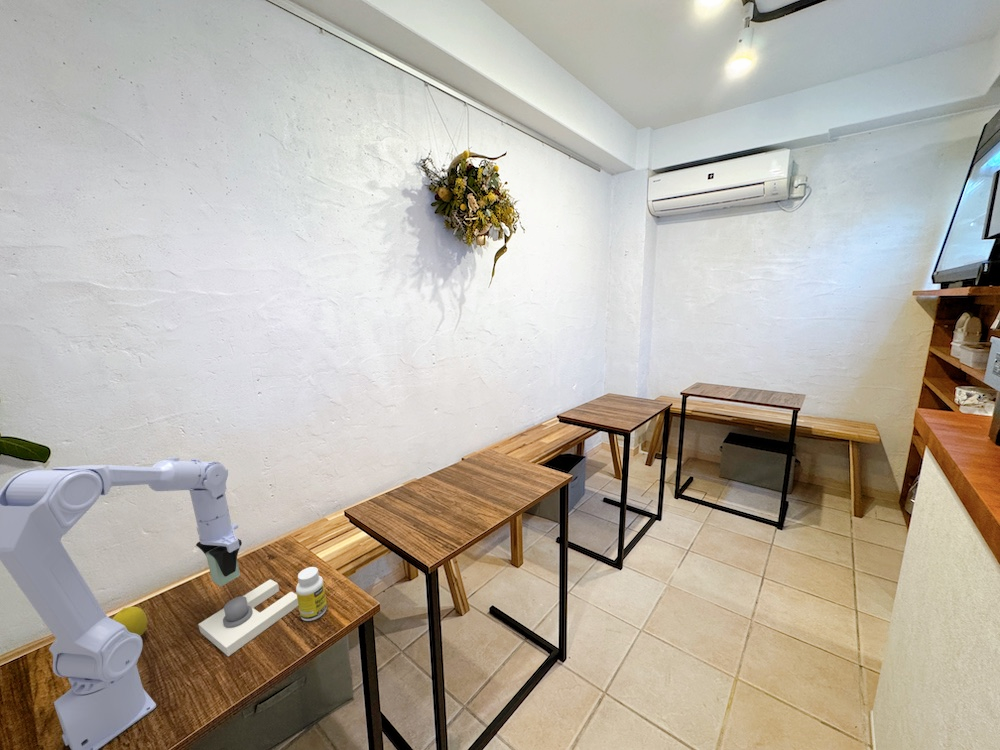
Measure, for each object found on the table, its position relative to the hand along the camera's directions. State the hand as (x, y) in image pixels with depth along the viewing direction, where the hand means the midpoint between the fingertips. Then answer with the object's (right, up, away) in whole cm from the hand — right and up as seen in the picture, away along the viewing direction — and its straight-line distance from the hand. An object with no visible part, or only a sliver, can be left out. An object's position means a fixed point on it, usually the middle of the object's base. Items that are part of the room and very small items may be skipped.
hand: (224, 570), depth 87 cm
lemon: (-14, -12, -6) cm, 20 cm away
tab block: (0, -2, 0) cm, 2 cm away
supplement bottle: (+21, -9, -1) cm, 22 cm away
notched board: (+7, -10, -2) cm, 12 cm away
